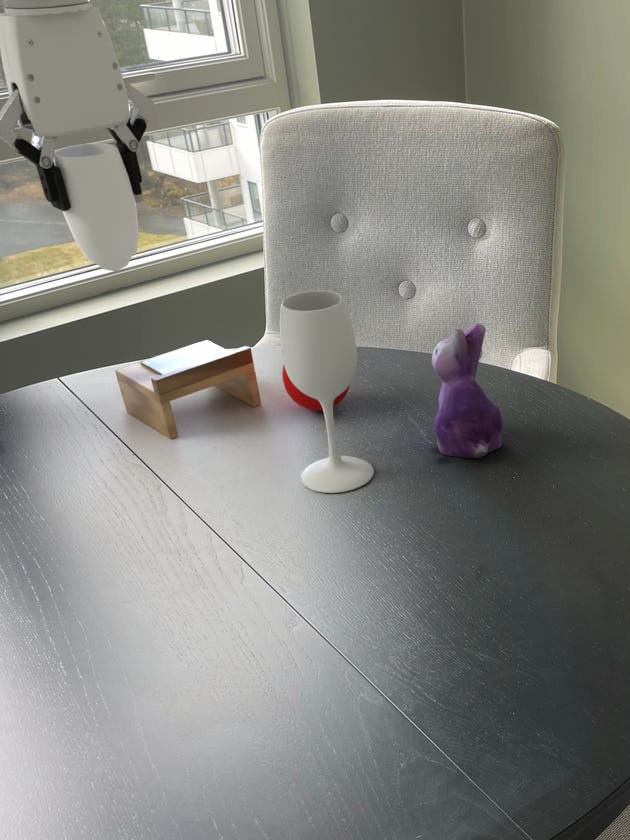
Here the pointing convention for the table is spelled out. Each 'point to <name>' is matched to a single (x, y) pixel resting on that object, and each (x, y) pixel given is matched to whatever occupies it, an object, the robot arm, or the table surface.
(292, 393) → the ornament
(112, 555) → the table surface
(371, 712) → the table surface
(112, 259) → the cup
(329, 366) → the wineglass
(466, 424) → the figurine
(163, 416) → the stand
